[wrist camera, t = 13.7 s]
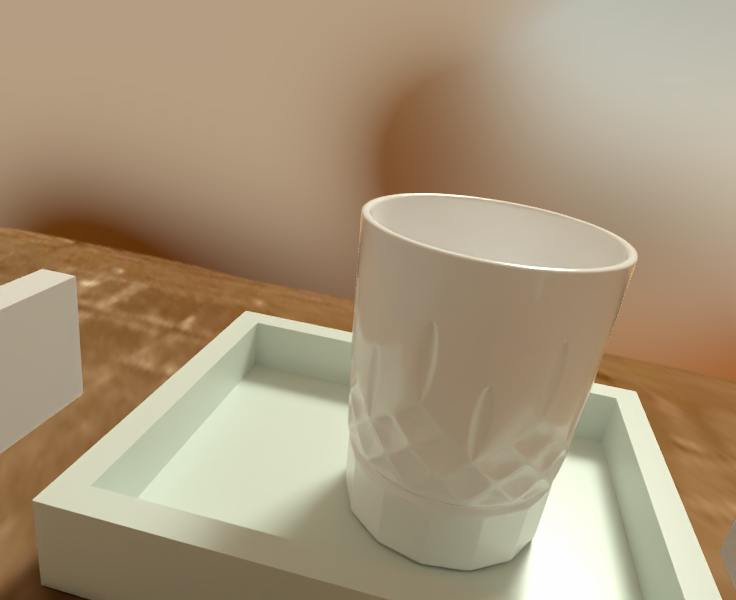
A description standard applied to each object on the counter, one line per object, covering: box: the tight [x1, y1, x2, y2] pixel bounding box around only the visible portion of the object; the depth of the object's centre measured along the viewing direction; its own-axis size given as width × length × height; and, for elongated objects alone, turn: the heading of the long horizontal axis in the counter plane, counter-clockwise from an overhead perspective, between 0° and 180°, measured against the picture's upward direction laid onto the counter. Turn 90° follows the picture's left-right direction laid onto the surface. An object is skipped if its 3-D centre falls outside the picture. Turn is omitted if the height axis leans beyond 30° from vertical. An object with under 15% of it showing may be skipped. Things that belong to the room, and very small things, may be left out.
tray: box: [32, 311, 722, 600], centre depth 21 cm, size 18×14×3 cm
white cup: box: [346, 193, 638, 571], centre depth 19 cm, size 8×8×10 cm
